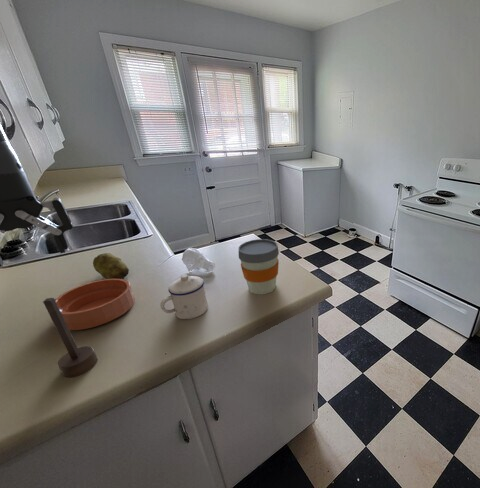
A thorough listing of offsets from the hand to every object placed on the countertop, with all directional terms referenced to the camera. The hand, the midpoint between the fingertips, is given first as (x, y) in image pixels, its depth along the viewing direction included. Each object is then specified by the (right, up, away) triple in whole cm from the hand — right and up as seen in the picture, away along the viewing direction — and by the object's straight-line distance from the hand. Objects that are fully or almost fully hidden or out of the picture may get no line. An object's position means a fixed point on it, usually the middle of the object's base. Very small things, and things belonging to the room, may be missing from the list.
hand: (33, 258), depth 51 cm
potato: (-21, -9, +47) cm, 52 cm away
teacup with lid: (+15, -17, +27) cm, 36 cm away
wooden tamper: (0, -25, +10) cm, 27 cm away
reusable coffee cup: (+34, -12, +40) cm, 54 cm away
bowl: (-11, -17, +28) cm, 34 cm away
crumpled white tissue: (+9, -7, +51) cm, 52 cm away
